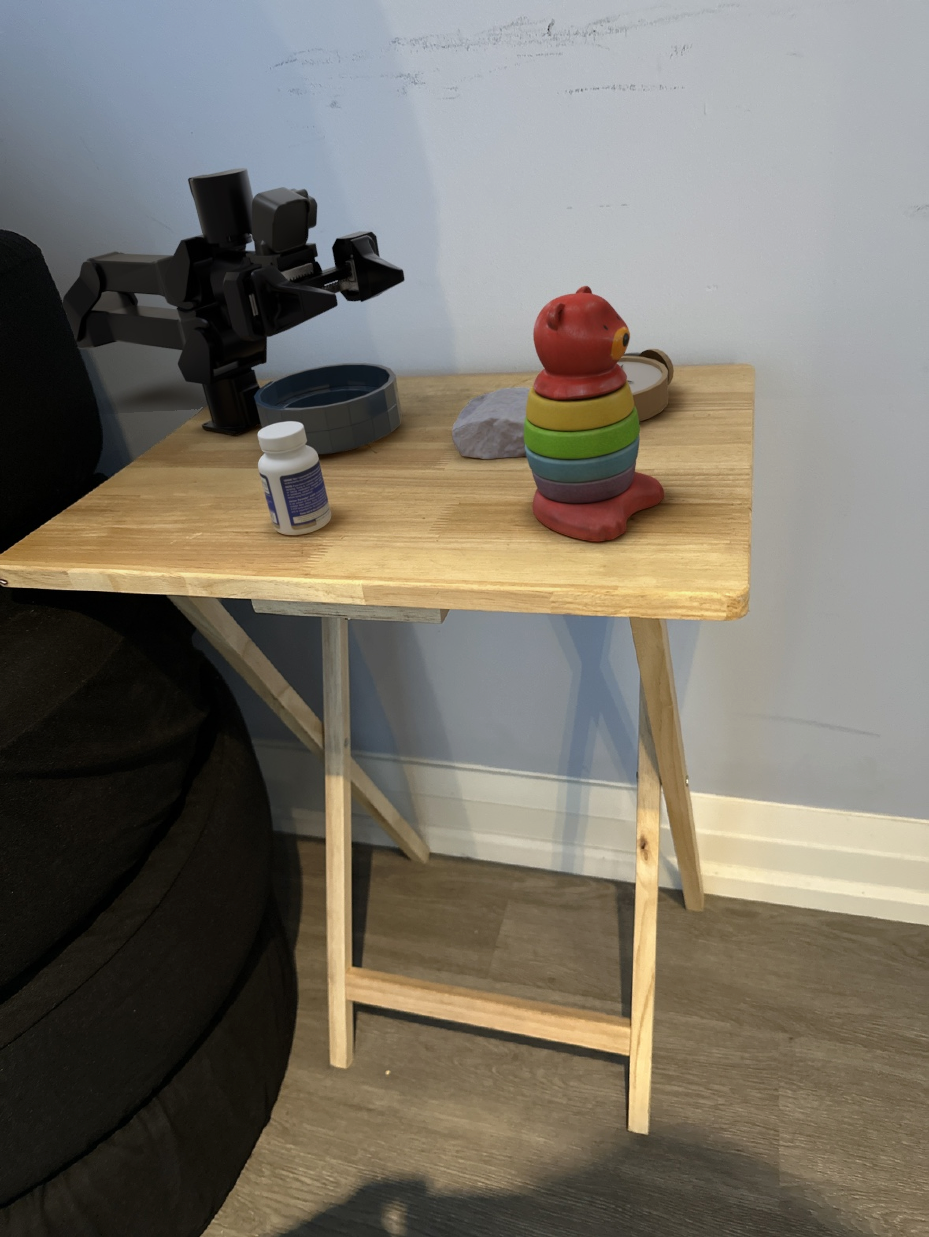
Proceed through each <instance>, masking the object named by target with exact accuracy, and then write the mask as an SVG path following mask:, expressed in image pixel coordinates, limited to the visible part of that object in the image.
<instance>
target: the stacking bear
mask: <svg viewBox="0 0 929 1237" xmlns="http://www.w3.org/2000/svg"><path fill="white" fill-rule="evenodd" d="M532 335H533V336H532V337H533V344H534V348H535V352H536V355H537V358H538V360H539V362H540V363H541V365H542V366H543V369H542V370H541V371H540V372H538V374H537V376H536V377H535V379H534V381H533V385H532V386H531V387H530V388H531V389H530V391H529V394H528V399H527V406H526V417H525V422H524V442H525V452H526V456H525V457H526V460H527V462H528V466H529V469H530V471H531V475H532V478H533V480H534V484H535V485H536V489H535V492H534V495H533V499H532V513H533V515H534V517H535V518H536V519H537V520H538V521H539V522H540V523H541V524H543V525H544V526H546V527H547V528H549V529H551V530H553V531H555V532H557V533H559V534H562V535H565V536H568V537H571V538H575V539H577V540H578V539H579V540H583V541H589V542H605V541H612V540H614V539H616V538H618V537H619V536H621V535H623V534H624V533H625V532H626V531H627V521H628V519H629V518H630V517H631V516H632V515H633V514H635V513H637V512H639V511H642V510H645V509H648V508H651V507H654V506H657V505H658V504H659V503H660V502H661V501H662V500H663V499H664V498H665V490H664V487H663V485H662V483H661V482H660V481H659V480H658V479H657V478H655V477H653V476H651V475H649V474H645V473H642V472H637V471H636V468H637V467H636V466H637V459H638V456H639V449H640V438H641V436H640V432H641V426H640V421H639V419H638V414H637V410H636V407H635V406H634V400H633V396H632V392H631V389H630V386H629V383H628V381H627V375H626V373H625V371H624V370H623V369H622V368H621V367H620V366H619V365H618V364H617V362H618V361H619V359H620V358H621V357H622V356H623V355H624V353H626V351H627V349H628V346H629V343H630V339H631V332H630V329H629V327H628V324H627V323H626V322H625V320H624V319H623V318H622V317H621V315H620V314H619V313H618V312H617V310H616V309H615V308H614V307H613V305H612V304H611V303H610V302H609V301H608V300H606V298H603V297H602V296H600V295H599V294H598V295H597V294H594V293H593V290H592V288H591V287H590V286H588V285H584V286H581V287H579V288H578V289H576V290H575V292H574V293H567V294H564V295H563V294H562V295H560V296H557V297H555V298H553V299H552V300H549V302H547V303H546V304H545V305H544V306H543V307H542V309H540V312H539V313H538V314H537V317H536V319H535V322H534V325H533V333H532Z"/></svg>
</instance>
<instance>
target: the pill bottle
mask: <svg viewBox="0 0 929 1237" xmlns="http://www.w3.org/2000/svg"><path fill="white" fill-rule="evenodd" d="M257 439H258V444H259V447H260V450H261V451H262V452H263V454H262V456H260V458H259V460H258V462H257V468H258V473H259V477H260V481H261V484H262V488H263V492H264V496H265V500H266V503H267V507H268V511H269V516H270V519H271V522H272V526H273V529H274V530H275V531H276V532H278V533H279V534H282V535H286V536H299V535H301V536H302V535H307V534H310V533H312V532H315V531H318V530H320V529H322V528H324V527H326V525H327V524H329V522H330V521H331V518H332V512H331V507H330V503H329V498H328V494H327V490H326V483H325V481H324V475H323V472H322V467H321V462H320V458H319V455H318V454H317V452H316V451H315V450H314V449H313V448H312V447H310V446H307V445H305V444H306V442H307V439H306V434H305V430H304V426H303V424H302V423H299V422H294V421H287V422H280V423H275V424H272V425H269V426H267V427H264V428H263V429H262V428H261V429H260V430H259V431H258V432H257Z"/></svg>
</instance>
